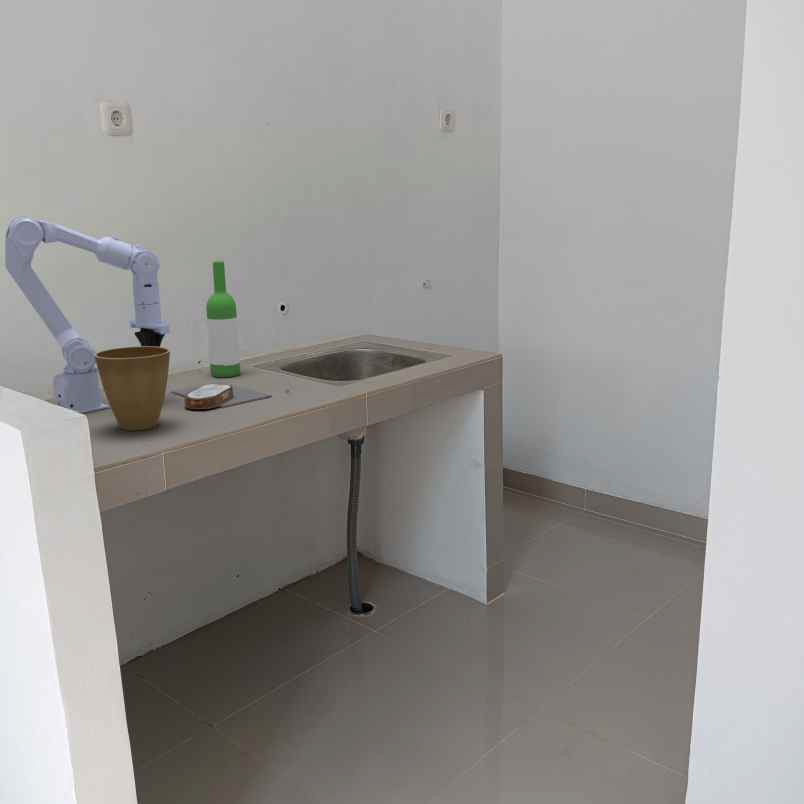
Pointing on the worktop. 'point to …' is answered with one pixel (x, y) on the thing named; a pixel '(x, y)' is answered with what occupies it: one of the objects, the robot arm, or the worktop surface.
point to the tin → (208, 396)
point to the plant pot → (134, 384)
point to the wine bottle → (222, 327)
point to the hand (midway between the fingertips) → (152, 361)
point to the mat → (238, 392)
